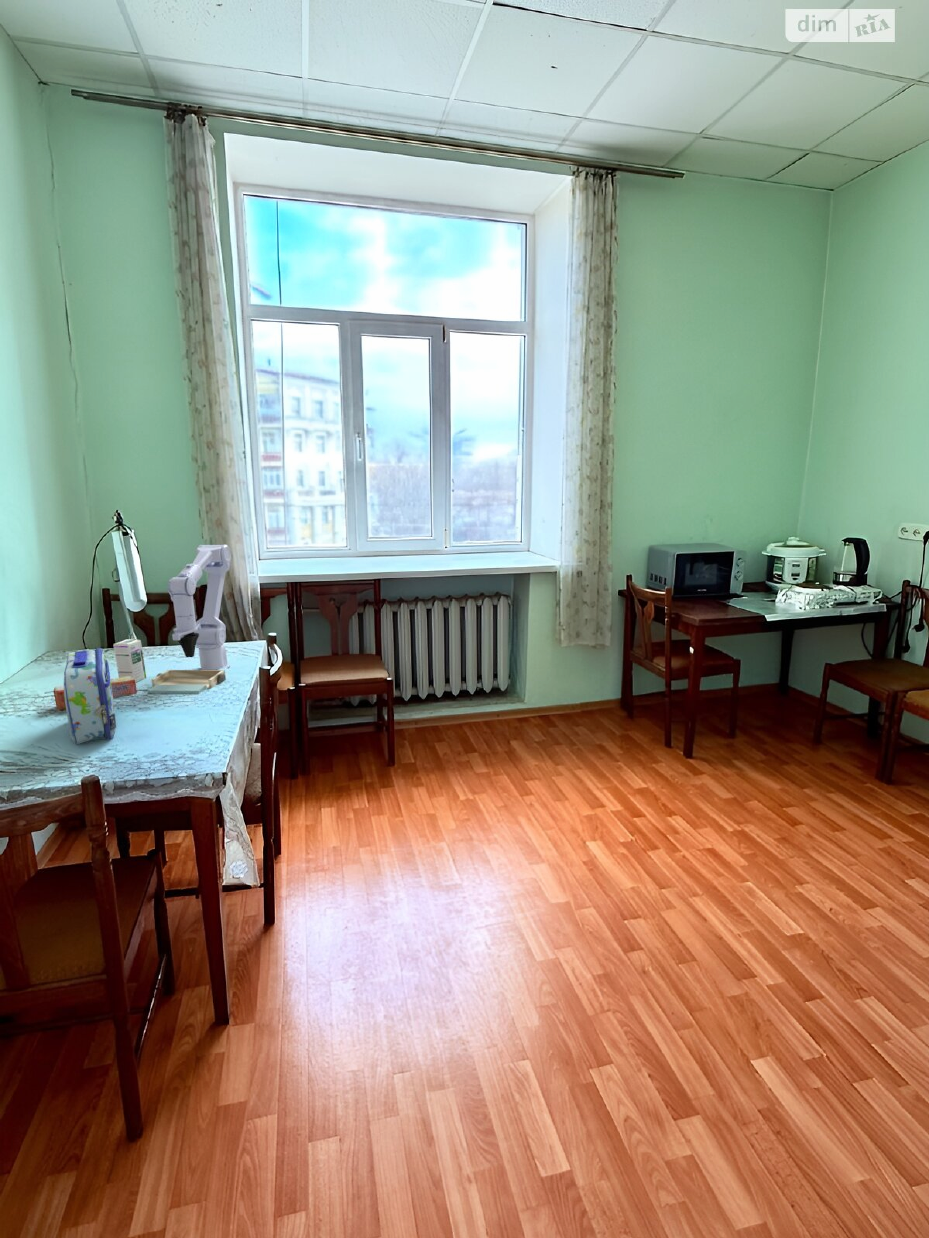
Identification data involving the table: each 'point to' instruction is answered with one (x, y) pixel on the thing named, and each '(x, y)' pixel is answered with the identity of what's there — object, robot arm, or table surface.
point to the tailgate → (178, 689)
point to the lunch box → (89, 696)
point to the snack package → (118, 689)
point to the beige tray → (190, 677)
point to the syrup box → (130, 659)
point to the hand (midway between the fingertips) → (190, 656)
